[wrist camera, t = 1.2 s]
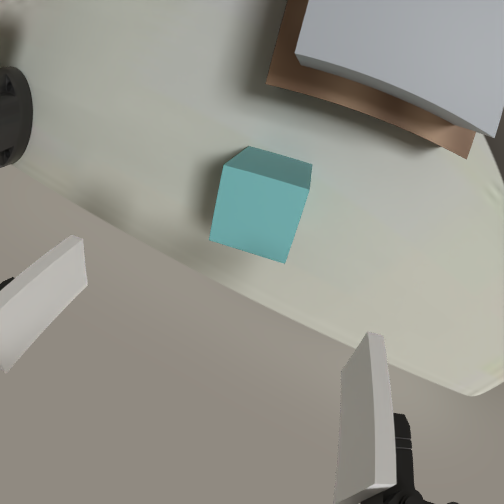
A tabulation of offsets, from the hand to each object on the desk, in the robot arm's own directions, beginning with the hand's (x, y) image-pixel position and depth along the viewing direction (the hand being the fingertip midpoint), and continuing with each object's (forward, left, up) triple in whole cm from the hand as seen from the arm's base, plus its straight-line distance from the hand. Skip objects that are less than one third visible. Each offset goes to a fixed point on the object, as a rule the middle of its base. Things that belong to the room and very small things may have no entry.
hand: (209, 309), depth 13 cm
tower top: (+6, +17, -13) cm, 22 cm away
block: (0, 0, -18) cm, 18 cm away
